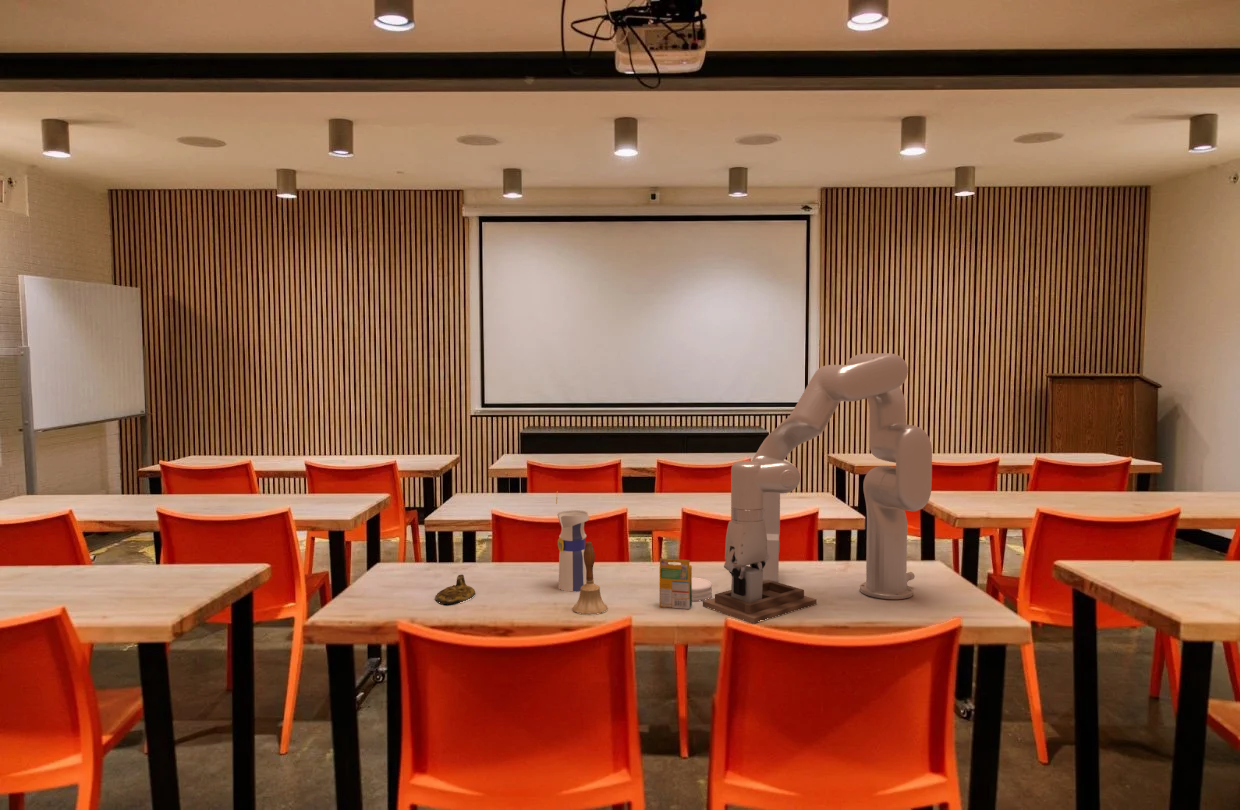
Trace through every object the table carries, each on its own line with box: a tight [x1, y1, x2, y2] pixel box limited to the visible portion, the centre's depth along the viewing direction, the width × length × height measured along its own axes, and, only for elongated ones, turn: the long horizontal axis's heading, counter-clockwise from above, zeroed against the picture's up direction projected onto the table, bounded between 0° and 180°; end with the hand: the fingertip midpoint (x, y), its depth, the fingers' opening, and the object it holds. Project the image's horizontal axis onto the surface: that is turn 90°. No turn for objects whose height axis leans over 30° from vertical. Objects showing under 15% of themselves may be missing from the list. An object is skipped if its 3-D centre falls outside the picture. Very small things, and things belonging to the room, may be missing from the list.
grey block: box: [730, 565, 763, 603], centre depth 183 cm, size 4×6×8 cm, turn 38°
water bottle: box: [555, 490, 590, 592], centre depth 201 cm, size 8×9×25 cm
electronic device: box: [763, 492, 781, 583], centre depth 209 cm, size 12×8×30 cm, turn 168°
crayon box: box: [659, 558, 693, 610], centre depth 185 cm, size 7×3×12 cm, turn 75°
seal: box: [434, 574, 476, 606], centre depth 194 cm, size 9×5×15 cm
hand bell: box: [572, 541, 609, 615], centre depth 183 cm, size 8×8×16 cm
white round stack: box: [692, 576, 713, 602], centre depth 194 cm, size 10×10×4 cm
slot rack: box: [702, 580, 818, 624], centre depth 186 cm, size 22×16×3 cm
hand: (747, 591), depth 183 cm, fingers open, 4 cm apart
